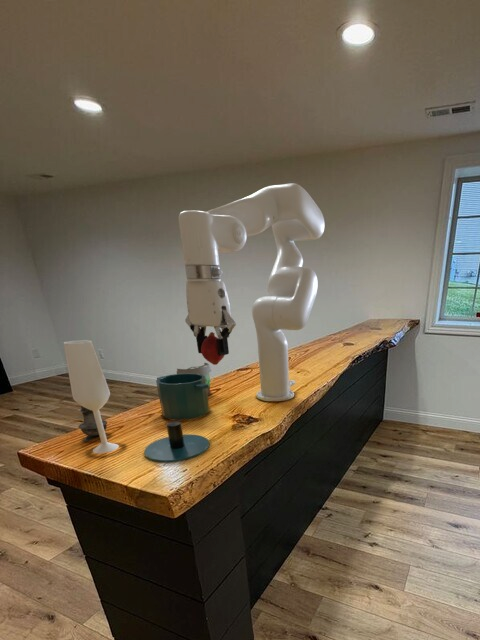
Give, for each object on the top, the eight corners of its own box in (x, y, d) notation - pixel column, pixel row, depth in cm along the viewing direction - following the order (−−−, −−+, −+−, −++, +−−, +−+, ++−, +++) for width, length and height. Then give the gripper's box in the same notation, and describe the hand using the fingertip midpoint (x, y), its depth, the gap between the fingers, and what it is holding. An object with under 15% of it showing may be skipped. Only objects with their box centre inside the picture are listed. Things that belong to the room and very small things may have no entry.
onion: (220, 367, 85) (216, 334, 82) (198, 366, 86) (194, 333, 83) (230, 362, 90) (227, 331, 87) (210, 361, 91) (205, 330, 88)
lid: (182, 434, 87) (177, 409, 84) (222, 445, 81) (219, 419, 78) (131, 455, 76) (125, 427, 73) (173, 470, 70) (168, 440, 67)
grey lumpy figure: (81, 444, 81) (66, 395, 76) (83, 435, 86) (70, 388, 81) (110, 440, 84) (97, 392, 79) (111, 431, 88) (99, 385, 84)
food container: (193, 402, 111) (188, 371, 107) (180, 399, 114) (175, 368, 110) (221, 392, 121) (218, 364, 117) (209, 390, 124) (205, 362, 120)
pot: (182, 403, 110) (177, 370, 106) (225, 412, 102) (221, 377, 98) (147, 414, 100) (140, 379, 96) (191, 426, 92) (185, 388, 88)
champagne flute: (122, 442, 83) (97, 338, 73) (124, 452, 77) (98, 342, 68) (88, 448, 79) (58, 341, 70) (89, 460, 74) (55, 345, 65)
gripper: (243, 274, 79) (250, 354, 86) (189, 275, 86) (199, 348, 94) (220, 274, 73) (229, 359, 80) (164, 274, 80) (177, 353, 88)
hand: (213, 352), depth 87 cm, fingers closed on onion, 5 cm apart
